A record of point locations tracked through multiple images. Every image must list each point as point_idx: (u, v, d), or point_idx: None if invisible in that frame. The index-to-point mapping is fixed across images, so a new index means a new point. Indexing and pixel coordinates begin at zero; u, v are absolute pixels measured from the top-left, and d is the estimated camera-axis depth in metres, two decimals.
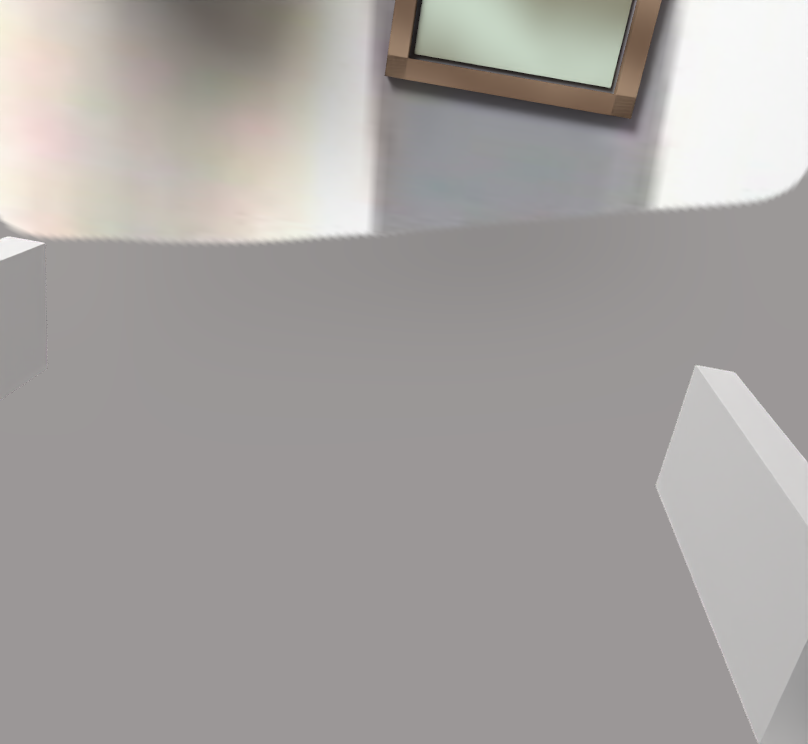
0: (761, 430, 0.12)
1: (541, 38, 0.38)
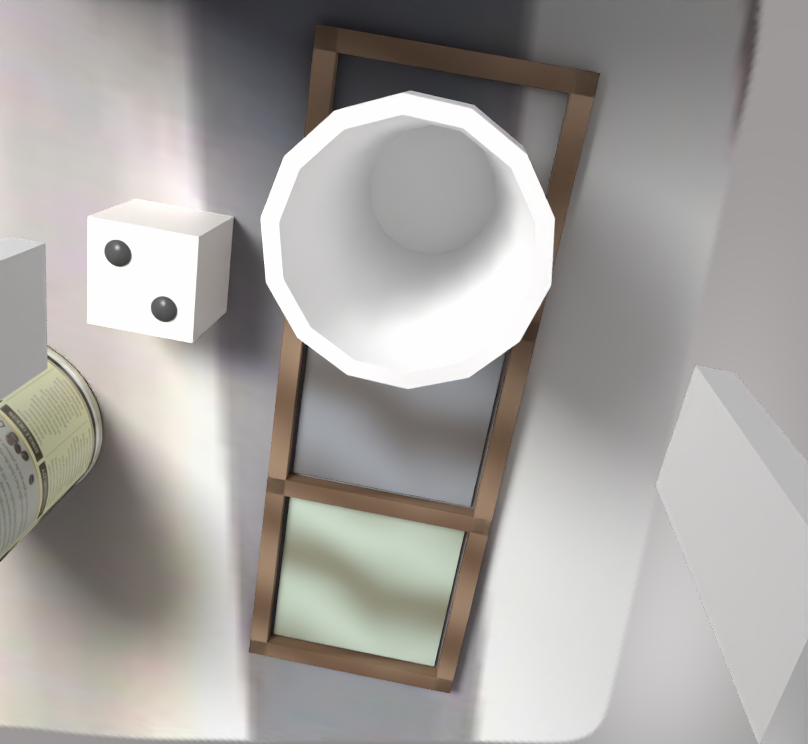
0: (761, 430, 0.12)
1: (375, 631, 0.46)
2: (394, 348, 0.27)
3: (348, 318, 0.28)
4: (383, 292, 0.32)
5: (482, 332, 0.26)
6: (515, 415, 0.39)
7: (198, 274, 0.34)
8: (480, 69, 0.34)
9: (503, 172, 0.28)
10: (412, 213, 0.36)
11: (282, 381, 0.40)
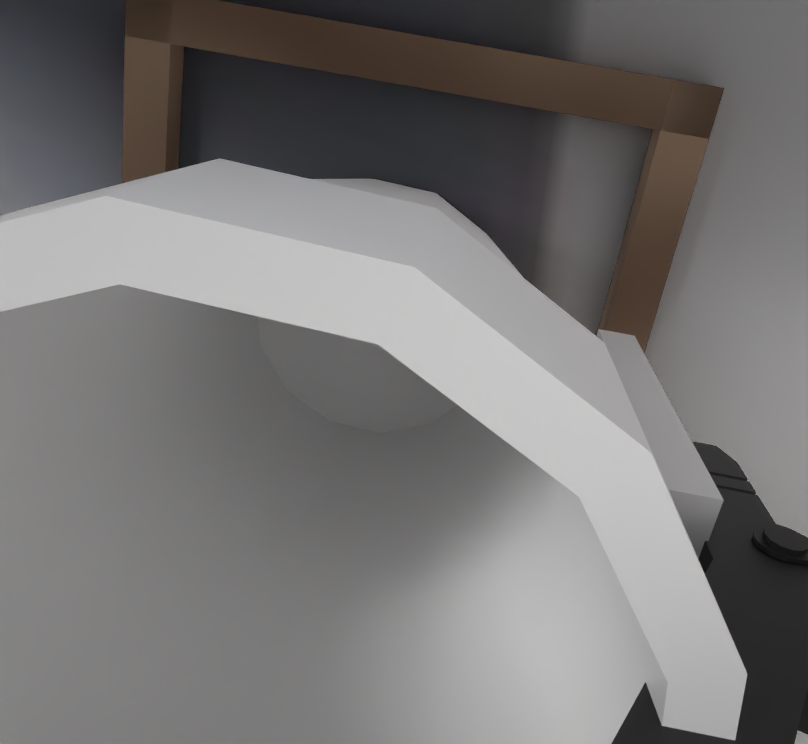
0: (640, 382, 0.13)
1: None
2: None
3: None
4: (249, 584, 0.14)
5: None
6: None
7: None
8: (469, 79, 0.16)
9: None
10: (339, 357, 0.19)
11: None
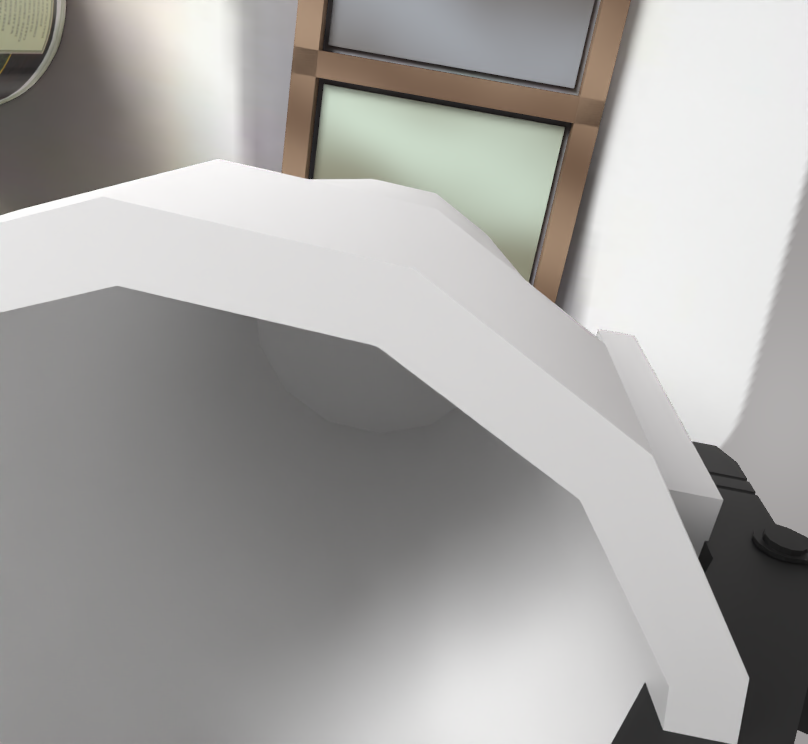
0: (639, 381, 0.13)
1: None
2: None
3: None
4: (248, 586, 0.14)
5: None
6: None
7: None
8: None
9: None
10: (339, 358, 0.19)
11: None
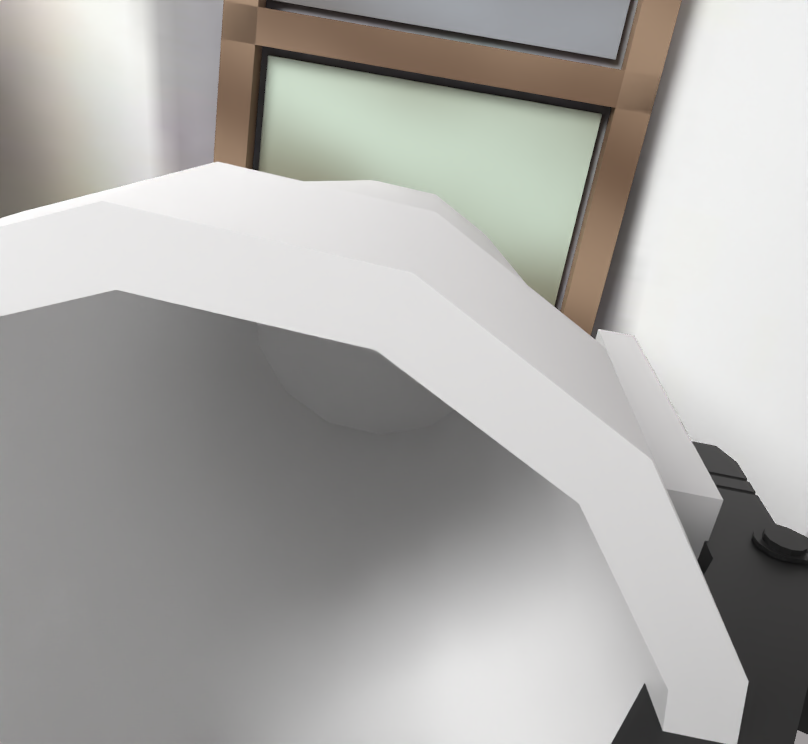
0: (640, 382, 0.13)
1: None
2: None
3: None
4: (248, 587, 0.14)
5: None
6: None
7: None
8: None
9: None
10: (339, 359, 0.19)
11: None
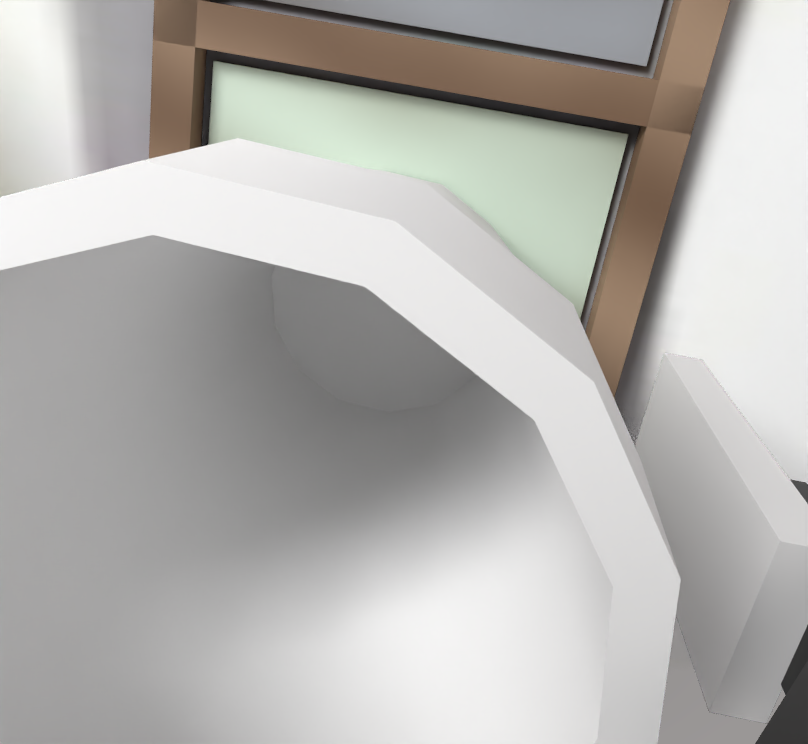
0: (721, 413, 0.13)
1: None
2: None
3: (131, 679, 0.11)
4: (261, 542, 0.15)
5: None
6: None
7: None
8: None
9: None
10: (349, 340, 0.20)
11: None
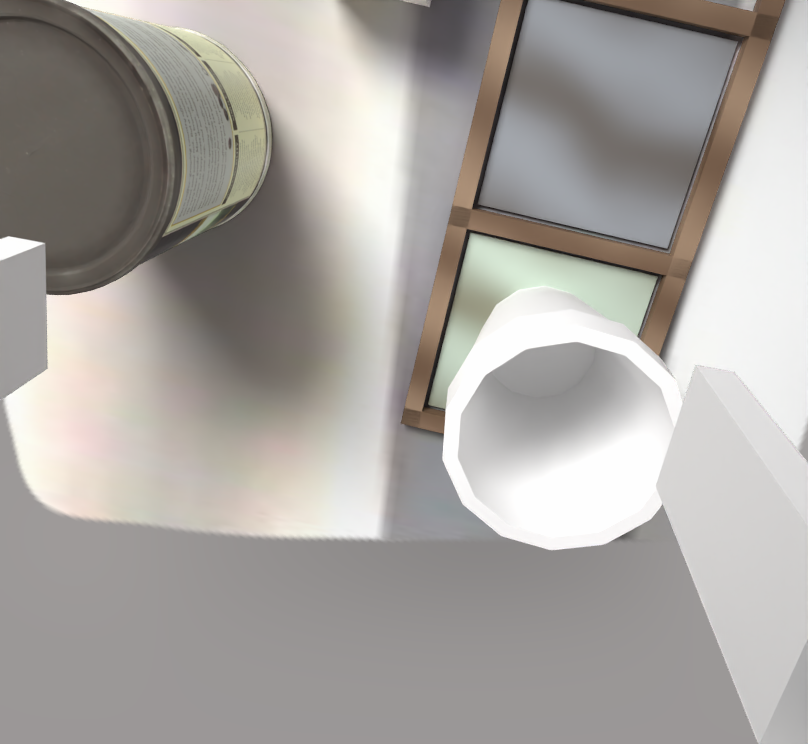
0: (761, 430, 0.12)
1: None
2: (535, 510, 0.32)
3: (494, 480, 0.33)
4: (509, 445, 0.37)
5: (614, 504, 0.31)
6: (736, 131, 0.37)
7: None
8: None
9: (630, 364, 0.33)
10: (520, 362, 0.41)
11: (485, 86, 0.37)
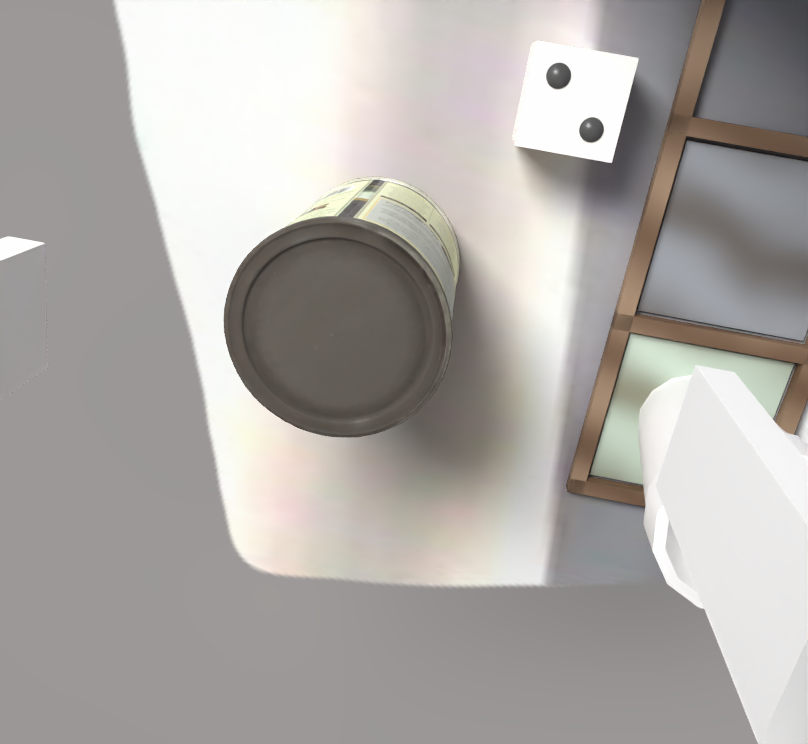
0: (761, 430, 0.12)
1: None
2: None
3: None
4: None
5: None
6: None
7: (628, 95, 0.38)
8: None
9: None
10: None
11: (648, 217, 0.44)
